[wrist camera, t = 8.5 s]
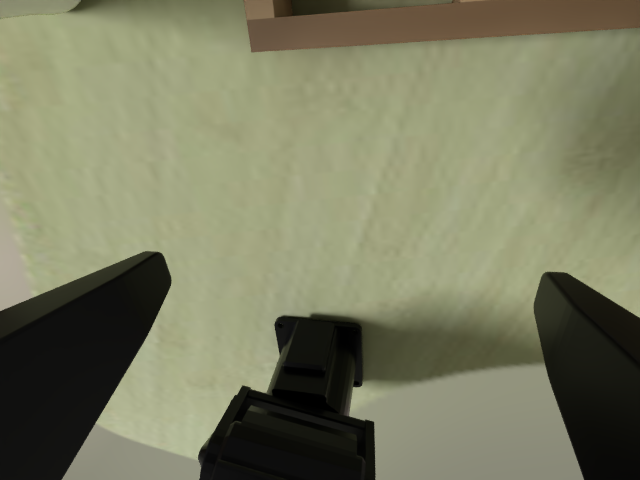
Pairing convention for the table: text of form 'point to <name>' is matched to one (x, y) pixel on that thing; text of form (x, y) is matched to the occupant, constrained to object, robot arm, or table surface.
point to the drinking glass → (35, 7)
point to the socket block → (430, 22)
